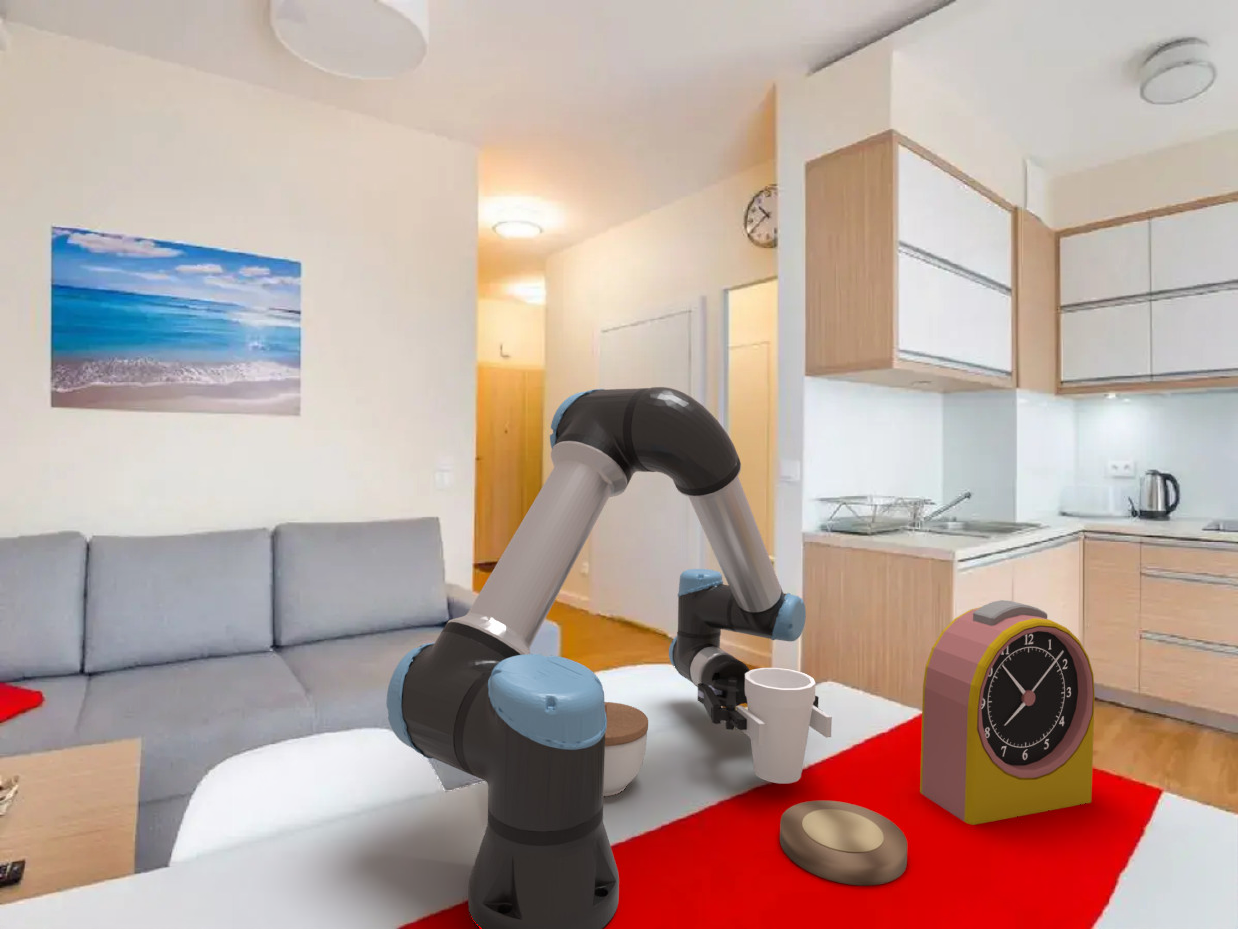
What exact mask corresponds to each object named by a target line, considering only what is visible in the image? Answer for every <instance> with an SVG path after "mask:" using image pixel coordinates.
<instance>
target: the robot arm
mask: <svg viewBox="0 0 1238 929" xmlns="http://www.w3.org/2000/svg"><path fill="white" fill-rule="evenodd" d="M550 429H551V430H552V434H549V442H550V447H551V451H550V458H551V462H552V465H553V468H552V469H551V472H550V473H549V475H548V477H547V478H546V480H545V482H544V484H543V485H542V487H541V489H540V491H539V492H538V493H537V495H536V497H535V499H534V501H533V502H532V504H531V505H530V507H529V509H528V511H527V513H526V514H525V516H524V518H523V519H522V521H521V523H520V524H519V526H518V528H517V529H516V530H515V533H514V534H513V536H512V538H511V539H510V541H509V543H508V545H507V546H506V547H505V550H504V552H502V555H501V556H500V558H499V560H498V561H497V563H496V565H495V566H494V569H492V572H491V573H490V574H489V576H488V578H487V580H486V581H485V584H484V585H483V587H482V589H481V590H480V591H479V593H478V595H477V597H476V598H475V600H474V602H473V603H472V605H471V607H470V609H469V611H468V612H467V613H466V614H465V615H463V616H460V617H455V618H453V619H449V620H448V622H447V623H446V624H445V625H444V627H443V629H442V631H440V633H439V636H438V637H437V639H436V641H435V642H431V643H430V642H429V643H428V642H426V643H424V644H421V645H420V646H418V647H414V648H412V649H411V650H410V651H409V652H407V653H406V654H405V655H404V656H403V657H402V658H401V659H400V661H399V662H398V663H397V665H396V667H395V669H394V670H393V672H392V675H391V678H390V680H389V683H388V688H387V693H386V704H385V705H386V709H387V710H388V711H387V714H388V717H387V718H388V722H389V725H390V728H391V729H392V732H393V733H394V735H395V736H396V738H398V740H399V741H401V743H402V744H404V745H406V746H407V747H410V748H411V749H413V751H415V752H416V753H418V754H420V755H422V756H423V757H424V758H427V759H434V760H436V761H439V762H441V763H444V764H446V765H448V766H450V767H452V768H455V769H458V770H460V771H461V772H464V773H466V774H469V775H470V776H473V777H476V778H478V779H481V780H482V781H485V782H486V783H487V786H488V787H487V824H486V828H485V831H484V834H483V837H482V840H481V843H480V845H479V849H478V852H477V855H476V857H475V860H474V863H473V866H472V870H471V873H470V876H469V880H468V899H467V900H468V901H467V902H468V903H467V904H468V906H469V907H468V913H469V912H470V913H469V915H470V914H471V916H472V918H473V920H474V921H475V922H476V924H478V926H480V927H481V928H482V929H603V928H605V927H606V925H607V924H609V922H610V921H611V920H612V918H613V917H614V915H615V914H616V911H617V909H618V905H619V900H620V899H619V894H620V887H619V885H620V877H619V870H618V867H617V864H616V860H615V857H614V853H613V850H612V847H611V844H610V840H609V837H608V832H607V830H606V827H605V823H604V797H603V790H604V757H605V731H606V727H607V719H606V712H605V702H606V701H605V691H604V689H603V688H604V687H603V684H602V682H601V680H600V678H599V677H598V676H597V675H596V674H595V672H593V670H591V669H590V668H588V667H587V666H585V665H583V664H582V663H579V662H577V661H574V660H572V659H569V658H567V657H563V656H559V655H549V656H545V655H543V654H542V653H540V654H539V653H531V652H530V649H531V646H532V645H533V642H534V641H535V639H536V637H537V635H538V634H539V632H540V629H541V628H542V625H543V623H544V621H545V620H546V618H547V616H548V614H549V612H550V611H551V608H552V606H553V605H554V603H555V601H556V599H557V596H558V595H559V593H560V592H561V589H562V587H563V586H564V584H565V581H566V580H567V578H568V576H569V574H570V572H571V570H572V568H573V566H574V565H575V563H576V561H577V559H578V557H579V555H580V553H581V551H582V550H583V547H584V546H585V543H586V541H587V540H588V538H589V536H590V534H591V532H592V530H593V528H594V526H595V524H596V523H597V521H598V519H599V517H600V515H601V514H602V511H603V510H604V508H605V505H606V504H607V501H608V499H609V498H611V497H617V496H619V495H622V494H623V493H624V492H625V490H626V489H627V487H628V485H629V483H630V481H631V479H632V477H633V476H634V474H635V473H637V472H639V473H640V472H641V473H642V472H643V473H647V472H648V473H649V472H650V473H661V474H664V475H666V476H668V477H669V478H670V479H671V480H672V481H673V483H674V485H675V488H676V489H677V491H678V492H679V494H680V493H681V495H684V496H686V497H688V499H689V500H690V503H691V505H692V507H693V510H694V512H695V514H696V516H697V519H698V521H699V523H700V525H701V527H702V529H703V532H704V534H705V536H706V538H707V540H708V542H709V545H710V547H711V550H712V551H713V554H714V556H715V558H716V560H717V562H718V564H719V566H720V569H721V571H722V573H721V572H720V571H718V570H714V569H709V568H690V569H686V570H684V571H683V570H682V573H680V575H679V581H678V582H679V584H678V594H677V598H678V599H677V600H678V602H677V604H678V606H677V631H676V636H675V637H673V639H672V641H671V643H670V645H669V648H668V659H669V662H670V663H671V665H672V666H673V667H674V666H675V667H674V669H675V670H676V671H677V673H678V674H679V675H680V676H682V677H684V679H686V680H688V681H689V682H691V683H693V685H694V686H695V687H697V702H699V703H700V704H702V705H703V707H704V708H705V711H706V713H707V715H708V717H709V719H710V722H711V723H712V724H714V725H719V724H720V725H721V721H722V722H725V730H728V731H734V730H735V728H736V729H737V730H739V731H742V732H743V733H744V734H745V735H747V736H748V738H750V740H751V739H752V740H754V741H755V742H756V743H757V744H758V745H762V744H764V727H765V723H763V722H762V721H761V720H759V719H758V718H757V717H756V716H754V715H753V714H752V713H750V712H749V711H748V709H747V708H745V707H744V706H742V705H743V704H746V705H747V697H746V696H745V673H747V672H748V671H750V669H749V667H748V666H747V665H746V664H745V663H744V662H742V661H741V660H739V659H738V658H736V657H734V656H733V655H732V654H730V653H728V652H727V651H725V650H724V649H722V648H721V635H722V632H721V631H722V630H724V631H729V632H734V633H739V634H743V635H744V634H745V635H750V636H755V637H760V638H764V639H770V640H772V641H775V640H777V641H784V642H790V643H791V642H795V641H797V640H798V639H799V638H800V637H801V635H802V634H803V631H804V628H805V624H806V616H807V614H806V605H805V604H806V603H805V602H804V600H803V598H801V597H800V596H799V595H794V594H791V593H790V592H786V593H784V591H783V589H782V586H781V584H780V582H779V579H778V576H777V574H776V571H775V569H774V567H773V564H772V561H771V558H770V556H769V552H768V550H767V548H766V545H765V543H764V540H763V538H762V535H761V533H760V530H759V527H758V525H757V522H756V519H755V516H754V515H753V512H752V509H751V505H750V504H749V501H748V499H747V497H746V493H745V491H744V487H743V484H742V483H741V480H740V478H739V476H740V473H741V470H742V463H741V460H740V457H739V454H738V452H737V450H736V447H735V445H734V442H733V441H732V440H731V438H730V436H729V434H728V433H727V431H726V430H725V429H724V427H723V426H722V424H721V423H720V422H719V420H718V419H716V417H715V416H714V415H713V414H712V413H711V412H710V411H709V410H708V409H707V408H706V407H705V406H704V405H703V404H701V403H700V402H699V401H697V400H696V399H695V398H693V397H692V396H690V395H688V394H686V393H684V392H682V391H681V390H678V389H675V388H671V387H665V386H653V387H649V388H648V387H643V388H642V387H641V388H615V389H613V388H612V389H604V388H596V389H595V388H594V389H590V390H586V391H580V392H576V393H574V394H572V395H571V396H569V397H567V398H566V399H565V400H564V401H563V402H562V403H561V404H560V405H559V406H558V408H557V409H556V411H555V413H554V415H553V417H552V420H551V423H550ZM722 574H723V575H722ZM723 576H724V578H725V579H726V582H727V584H724V581H723ZM819 699H820V698H819V696H818V695H815V701H814V702H813V707H812V713H811V719H810V725H809V728H811V729H813V730H815V731H816V732H817V733H819V734H820V735H822V736H823V737H825V738H826V739H827V738H831V737H832V726H833V725H832V723H833V722H832V718H833V717H832V716H831V715H830V714H828V713H826V712H824V711H823V710H822V709H820V708H819ZM471 916H470V917H471Z"/></svg>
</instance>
